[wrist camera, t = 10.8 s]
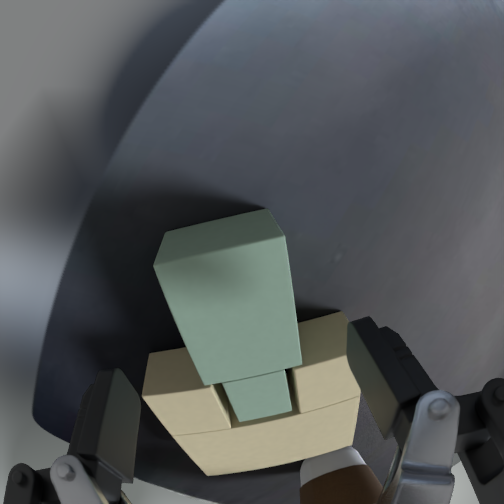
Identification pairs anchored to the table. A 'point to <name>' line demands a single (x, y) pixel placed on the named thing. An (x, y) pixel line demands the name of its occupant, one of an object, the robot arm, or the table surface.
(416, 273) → the table surface
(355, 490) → the coffee cup
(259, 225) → the pad
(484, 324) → the table surface
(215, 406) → the notch pad
